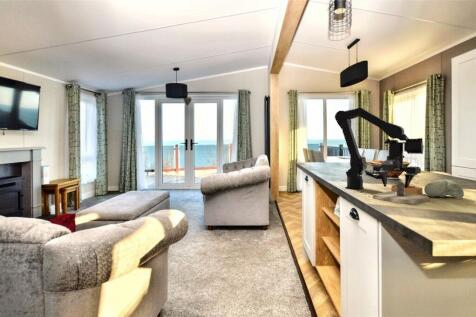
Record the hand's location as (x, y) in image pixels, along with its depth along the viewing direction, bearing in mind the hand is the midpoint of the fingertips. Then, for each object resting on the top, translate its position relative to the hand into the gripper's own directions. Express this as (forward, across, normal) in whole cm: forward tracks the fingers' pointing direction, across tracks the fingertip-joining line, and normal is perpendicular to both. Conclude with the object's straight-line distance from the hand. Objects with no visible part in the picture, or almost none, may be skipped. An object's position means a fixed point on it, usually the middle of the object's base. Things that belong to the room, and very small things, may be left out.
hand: (395, 187), depth 127 cm
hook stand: (+2, +9, -14) cm, 17 cm away
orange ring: (+2, +5, 0) cm, 5 cm away
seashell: (+2, +17, +3) cm, 18 cm away
